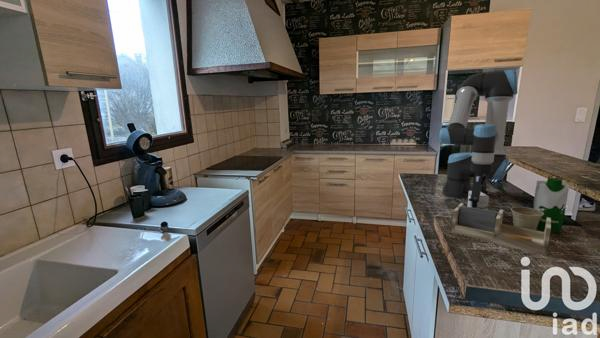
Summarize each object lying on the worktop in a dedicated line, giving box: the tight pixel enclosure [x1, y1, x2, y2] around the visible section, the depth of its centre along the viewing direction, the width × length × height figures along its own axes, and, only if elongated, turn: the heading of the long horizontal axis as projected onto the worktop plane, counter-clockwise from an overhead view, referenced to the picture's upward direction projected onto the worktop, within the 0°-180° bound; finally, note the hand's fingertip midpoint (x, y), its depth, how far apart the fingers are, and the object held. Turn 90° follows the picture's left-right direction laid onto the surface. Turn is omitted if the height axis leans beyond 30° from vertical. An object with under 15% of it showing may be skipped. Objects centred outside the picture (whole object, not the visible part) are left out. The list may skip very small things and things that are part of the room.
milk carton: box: [532, 177, 570, 234], centre depth 104 cm, size 9×9×20 cm
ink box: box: [466, 191, 490, 210], centre depth 115 cm, size 9×5×12 cm, turn 168°
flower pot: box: [510, 206, 544, 231], centre depth 101 cm, size 9×9×9 cm
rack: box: [450, 202, 551, 257], centre depth 98 cm, size 12×27×9 cm, turn 48°
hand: (476, 212), depth 115 cm, fingers open, 13 cm apart
